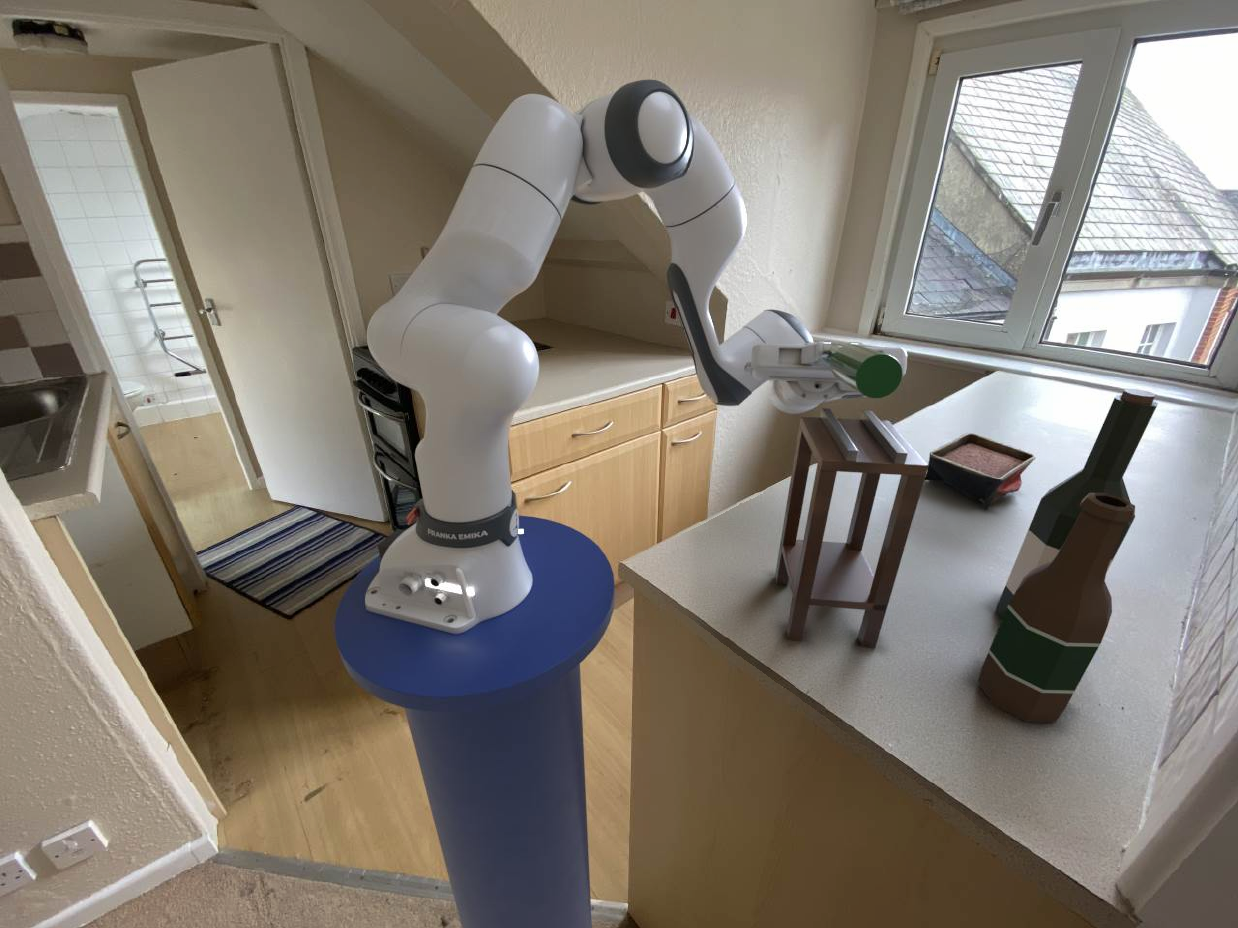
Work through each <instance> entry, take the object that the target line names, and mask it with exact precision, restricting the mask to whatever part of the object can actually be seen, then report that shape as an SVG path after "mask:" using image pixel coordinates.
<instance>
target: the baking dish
mask: <svg viewBox="0 0 1238 928" xmlns="http://www.w3.org/2000/svg"><path fill="white" fill-rule="evenodd" d="M928 459H929V460H928V464H927V465H928V469H927V472H926V476H925V480H924V481H933V482H945V483H947V484H948V485H950V487H953V488H954V489H956V490H957V491H959V492H961V493H962V494H963V495H965V496H967V497H968V498H969V499H971V500H973V501H974V502H975V503H977V504H978V505H980V506H981V507H983V508H984V510H986V511H989V509H990V508H991V507H992V506H993V505H994V504H995V503H996V502H997V501H999V500H1000V499H1002V498H1004V497H1005V496H1006V495H1007V494H1009V493H1016V492H1018V491H1019V490H1020V489H1021V487H1022V485H1023V481H1022V477H1021V476H1022V474H1023V473H1024V472H1025V471H1026V470H1027V468H1028V467H1029V466H1030V465H1031V464H1032V463H1033V461H1035V459H1036V456H1035V455H1034V454H1033V453H1030V451H1029V452H1028V451H1026V450H1023V449H1021V448H1017V447H1015V446H1012V445H1009V444H1007V443H1004V442H1002V441H998V440H995V439H992V438H990V437H986V436H983V435H981V434H980V435H979V434H976V433H971V432H966V433H964V434H962V435H960V436H959V437H957V438H955V439H953V440H951V441H949V442H948V443H946V444H943V445H941V446H940V447H939V446H938V448H936V449H933V450H932V451H930V452H929V458H928Z"/></svg>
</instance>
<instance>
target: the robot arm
mask: <svg viewBox="0 0 1238 928" xmlns="http://www.w3.org/2000/svg"><path fill="white" fill-rule="evenodd" d="M467 175H468V176H467V177H466V180H465V182H464V184H463V186H462V189H461V191H460V193H459V195H458V197H457V199H456V201H455V204H454V206H453V207H452V210H451V212H450V214H449V216H448V219H447V221H446V223H445V225H444V227H443V229H442V231H441V232H440V234H439V236H438V238H437V239H436V241H435V242H434V244H433V245H432V247H431V248H430V249H429V250H428V252H427V254H426V255H425V256H424V258H422V260H421V262H420V263H419V264H418V266H417V267H416V268H415V269H414V271H413V272H412V274H411V275H410V276H409V278H408V279H407V280H406V282H404V284H403V285H402V287H401V288H400V289H399V290H398V291H397V293H396V294H395V295H394V296H393V297H392V298H391V299H389V301H387V302H385V303H384V304H382V305H380V306H379V307H378V308H377V310H375V312H374V313H373V314H372V316H371V318H370V320H369V321H368V326H367V330H366V342H367V347H368V349H369V352H370V354H371V357H372V358H373V359H374V361H375V362H376V363H377V365H378V366H379V367H380V368H381V369H382V370H383V371H384V372H385V374H387V375H388V376H389V377H390V378H391V379H392V380H394V381H395V382H396V383H398V384H400V385H402V386H405V387H407V388H409V389H411V390H413V391H415V392H417V393H419V395H420V397H421V398H422V400H423V403H424V406H425V407H424V408H425V426H424V436H423V437H422V438H421V439H420V440H419V442H418V444H417V445H416V448H415V450H414V451H415V452H414V458H415V463H416V469H417V475H418V480H419V484H420V490H421V495H422V498H420V499H419V500H418V501H417V502H416V503H414V505H413V509H412V510H411V511H410V512H409V514H407V516H406V520H408V521H407V525H408V526H410V525H411V524H412V523H413V522H414V521H415V520H416V521H415V523H413V524H412V525H411V526H410V527H408V528H407V529H400V528H397V529H395V531H394V532H392V533H391V534H390V535H388V537H386V538H385V539H383V540H382V541H381V542H380V543H378V545H377V550H378V554H379V555H380V558H381V564H380V570H379V573H378V574H377V575H376V577H375V578H374V579H373V581H372V582H371V584H370V586H369V588H368V590H367V592H366V596H365V606H366V610H368V611H370V612H374V613H377V614H381V615H385V616H389V617H392V618H396V619H400V620H404V621H407V622H411V623H415V624H419V625H422V626H426V627H430V628H434V629H437V630H441V631H445V632H448V633H452V634H460V633H463V632H465V631H467V630H469V629H470V628H472V627H473V626H475V625H476V624H478V623H479V622H482V621H484V620H487V619H490V618H493V617H496V616H499V615H501V614H503V613H506V612H507V611H509V610H511V609H513V608H514V607H516V606H517V605H518V604H519V603H521V602H522V601H523V600H524V599H525V597H526V596H527V595H528V593H529V591H530V589H531V587H532V582H533V578H532V574H531V571H530V569H529V568H528V565H527V563H526V561H525V558H524V555H523V552H522V549H521V545H520V541H519V537H518V534H523V529H519V516H520V515H519V510H518V506H517V505H518V504H517V498H516V494H515V491H514V490H513V489H512V480H511V479H512V478H511V469H510V455H509V442H510V441H509V440H510V432H511V427H512V423H513V420H514V416H515V414H516V412H517V411H519V410H520V409H522V407H523V406H525V404H526V403H527V402H528V401H529V399H530V398H531V396H532V395H533V393H534V391H535V389H536V386H537V384H538V380H539V375H540V374H539V373H540V359H539V354H538V352H537V349H536V346H535V344H534V342H533V340H532V339H531V338H530V337H529V336H528V334H526V333H525V332H524V331H523V330H521V329H520V328H518V327H517V326H515V325H514V324H513V323H511V322H510V321H507V320H506V319H504V318H502V317H501V316H499V315H498V313H499V312H500V311H501V310H502V309H503V308H504V307H505V306H506V305H507V303H509V302H511V300H512V299H513V298H515V297H516V296H517V295H519V294H521V293H523V292H525V291H526V290H527V289H529V288H530V287H531V286H532V285H533V283H534V282H535V281H536V279H537V277H538V275H539V272H540V270H541V268H542V266H543V264H544V261H545V259H546V257H547V255H548V252H549V250H550V247H552V243H553V241H554V239H555V237H556V234H557V233H558V229H559V227H560V225H561V223H562V221H563V218H564V216H565V213H566V211H567V209H568V205H569V203H570V201H571V202H573V203H577V204H580V205H589V206H592V205H598V204H601V203H603V202H610V201H615V200H624V199H628V198H630V197H633V196H635V195H637V194H640V193H642V192H643V193H644V194H645V195H646V196H647V197H649V198H650V200H651V201H652V203H653V205H654V207H655V209H656V211H657V214H658V216H659V218H660V220H661V221H662V224H663V225H664V228H665V230H666V232H667V235H668V238H669V245H670V256H671V257H670V264H669V266H668V269H667V270H666V281H667V286H668V290H669V293H670V297H671V300H672V302H673V306H674V309H675V312H676V314H677V317H678V320H679V323H680V326H681V329H682V332H683V334H684V337H685V341H686V343H687V345H688V346H687V347H688V348H689V351H690V354H691V357H692V361H693V365H694V369H695V370H694V371H695V374H696V377H697V380H698V383H699V387H700V388H701V390H702V392H703V393H704V394H705V396H706V397H707V398H708V399H709V400H710V401H711V402H712V403H713V404H714V405H716V406H723V407H737V406H740V405H741V404H742V403H743V402H744V401H745V400H746V399H748V398H749V397H750V396H751V395H752V394H753V393H754V392H755V391H756V390H757V389H759V388H760V387H761V386H762V385H763V384H765V383H767V382H768V381H769V388H768V389H769V399H770V401H771V403H772V404H773V406H774V407H775V408H776V409H777V410H778V411H781V412H782V413H785V414H789V415H799V414H803V413H806V412H809V411H811V410H813V409H815V408H817V407H818V406H819V405H820V404H822V403H827V402H828V403H829V402H832V401H836V400H837V401H838V400H841V399H845V400H846V399H859V398H868V397H867V396H865V395H863V394H861V393H860V392H858V391H857V390H855V389H853V388H852V387H850V386H848V385H847V384H845V383H843V382H842V381H840V380H838V379H837V378H836V377H835V376H834V375H833V373H832V371H831V365H830V364H828V363H826V362H825V361H824V360H823V358H827V357H828V356H830V353H831V349H830V346H832V341H829V340H827V341H826V340H825V341H824V340H818V341H814V339H813V337H812V336H811V334H810V332H809V331H808V329H807V328H806V326H804V324H803V323H802V322H801V321H800V320H799V319H798V318H797V317H796V316H795V315H793V314H791V313H788V312H786V311H782V310H778V309H765V310H763V311H762V312H760V313H759V314H758V315H756V316H755V317H754V318H752V319H751V320H750V321H748V322H747V323H745V324H744V325H743V326H742V328H740V329H739V330H738V331H736V332H735V333H734V334H732V335H731V336H730V337H728V338H727V339H726V340H724V341H723V342H722V343H719V339H718V336H717V333H716V330H715V326H714V324H713V320H712V318H711V314H710V310H709V308H710V307H709V305H710V298H711V296H712V293H713V290H714V288H715V286H716V284H717V282H718V281H719V279H720V277H721V276H722V275H723V273H724V271H725V269H726V268H727V267H728V265H729V264H730V262H731V261H732V259H733V258H734V257H735V255H736V254H737V252H738V250H739V248H740V247H741V244H742V241H743V239H744V238H745V237H744V236H745V233H746V229H747V223H748V217H747V216H748V215H747V210H746V206H745V203H744V202H745V201H744V199H743V196H742V194H741V192H740V191H741V190H740V189H739V187H738V185H737V182H736V179H735V177H734V175H733V173H732V170H731V168H730V167H729V165H728V162H727V161H726V158H725V157H724V155H723V153H722V152H721V150H720V148H719V146H718V145H717V143H716V142H715V140H714V138H713V137H712V136H711V134H710V132H709V131H708V130H707V127H706V126H705V125H704V124H703V122H702V121H701V120H700V119H699V118H698V117H697V116H694V115H692V114H689V111H688V109H687V108H686V105H685V104H684V103H683V100H682V99H681V98H680V97H679V95H678V94H677V92H675V91H674V90H673V89H672V88H671V87H670V86H669V85H667V84H666V83H664V82H663V81H660V80H658V79H641V80H635V81H631V82H628V83H625V84H624V85H622V86H620V87H619V88H618V89H617V90H615V91H613V92H609V93H607V94H605V95H603V96H601V97H599V98H596V99H593V100H591V101H590V102H588V103H587V104H585V105H583V107H581V108H579V109H578V110H577V111H575V112H574V113H571V112H570V111H569V110H568V108H566V107H565V106H564V105H562V104H561V103H560V102H558V101H557V100H555V99H553V98H551V97H549V96H547V95H543V94H539V93H527V94H523V95H521V96H518V97H517V98H515V99H514V100H513V101H512V102H511V103H510V104H509V105H508V107H507V108H506V109H505V111H504V112H503V114H501V116H500V117H499V118H498V120H497V122H496V123H495V125H494V126H493V127H492V129H491V131H490V133H489V134H488V135H487V137H486V139H485V141H484V143H483V145H482V146H481V148H480V150H479V151H478V154H477V156H476V158H475V160H474V162H473V165H472V166H471V169H470V171H469V174H467ZM848 344H857V345H860V346H863V341H862V342H861V341H859V342H858V341H849V342H848V343H847V344H846V345H848ZM836 346H837V347H840V348H841V347H843V346H844V345H836ZM863 347H864V346H863ZM865 347H866V348H869V349H872V350H875V351H878V352H881V353H884V354H887V355H890V356H892V357H894V358H895V359H897V360H898V362H899V363H900V365H901V367H902V378H903V377H905V375H906V373H907V367H908V352H907V350H906V349H904V348H903V347H890V346H889V347H887V346H865Z"/></svg>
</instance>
